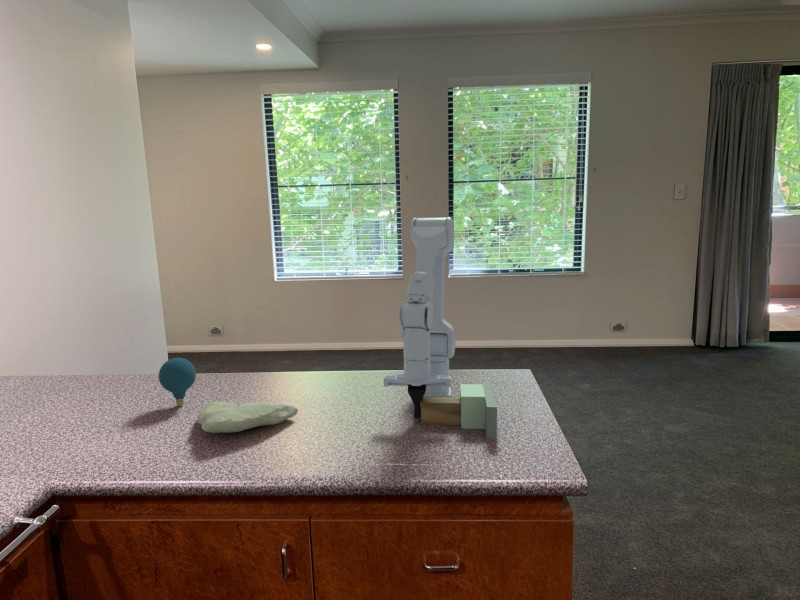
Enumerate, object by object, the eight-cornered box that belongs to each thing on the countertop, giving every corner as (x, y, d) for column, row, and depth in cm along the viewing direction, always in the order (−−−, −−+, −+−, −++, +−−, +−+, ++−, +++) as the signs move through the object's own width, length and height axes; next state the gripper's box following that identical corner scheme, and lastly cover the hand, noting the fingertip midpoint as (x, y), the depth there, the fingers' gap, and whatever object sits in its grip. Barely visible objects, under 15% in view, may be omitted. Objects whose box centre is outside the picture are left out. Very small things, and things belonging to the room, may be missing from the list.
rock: (209, 419, 129) (153, 438, 109) (209, 393, 129) (154, 408, 109) (302, 425, 124) (262, 447, 104) (303, 399, 124) (262, 415, 104)
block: (460, 414, 121) (460, 384, 120) (482, 414, 121) (482, 384, 120) (461, 428, 114) (461, 396, 112) (485, 428, 113) (485, 396, 112)
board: (481, 410, 124) (481, 381, 123) (490, 410, 124) (490, 381, 123) (486, 440, 108) (487, 407, 107) (496, 440, 108) (497, 407, 107)
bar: (422, 418, 120) (422, 396, 119) (476, 419, 119) (476, 397, 118) (421, 424, 117) (421, 402, 116) (477, 425, 115) (477, 403, 115)
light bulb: (173, 414, 126) (168, 365, 123) (155, 407, 131) (150, 359, 128) (205, 404, 132) (201, 356, 130) (186, 397, 137) (182, 352, 135)
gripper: (381, 362, 113) (382, 423, 115) (450, 362, 111) (451, 424, 114) (385, 353, 119) (386, 411, 122) (450, 353, 118) (450, 412, 120)
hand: (417, 417), depth 118 cm, fingers closed
